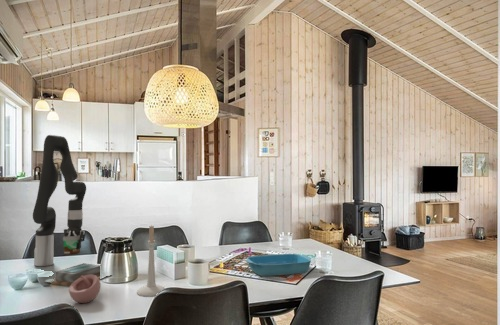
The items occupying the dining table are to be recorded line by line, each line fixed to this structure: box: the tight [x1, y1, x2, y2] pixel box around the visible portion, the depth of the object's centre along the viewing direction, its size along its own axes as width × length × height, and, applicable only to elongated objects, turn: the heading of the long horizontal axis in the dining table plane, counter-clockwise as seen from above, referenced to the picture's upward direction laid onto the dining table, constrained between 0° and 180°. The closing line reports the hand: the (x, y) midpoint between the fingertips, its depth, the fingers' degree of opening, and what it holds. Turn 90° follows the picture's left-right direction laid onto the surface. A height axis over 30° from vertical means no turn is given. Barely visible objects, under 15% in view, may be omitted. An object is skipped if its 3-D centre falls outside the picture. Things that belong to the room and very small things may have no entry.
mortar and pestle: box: [68, 274, 101, 304], centre depth 158 cm, size 12×12×11 cm
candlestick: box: [136, 225, 166, 298], centre depth 172 cm, size 13×13×30 cm
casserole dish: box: [245, 253, 312, 277], centre depth 206 cm, size 37×22×7 cm, turn 109°
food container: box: [62, 235, 81, 256], centre depth 209 cm, size 12×6×10 cm, turn 167°
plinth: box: [51, 262, 102, 287], centre depth 192 cm, size 22×22×5 cm
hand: (74, 248), depth 209 cm, fingers closed on food container, 5 cm apart
